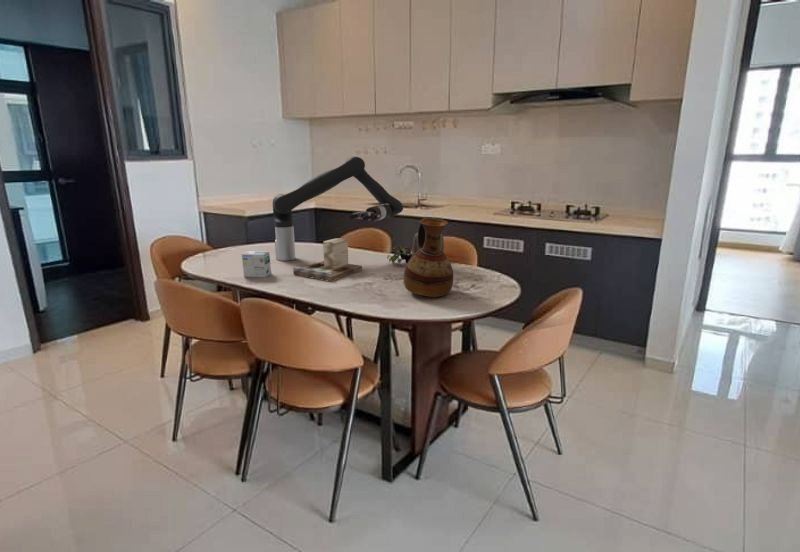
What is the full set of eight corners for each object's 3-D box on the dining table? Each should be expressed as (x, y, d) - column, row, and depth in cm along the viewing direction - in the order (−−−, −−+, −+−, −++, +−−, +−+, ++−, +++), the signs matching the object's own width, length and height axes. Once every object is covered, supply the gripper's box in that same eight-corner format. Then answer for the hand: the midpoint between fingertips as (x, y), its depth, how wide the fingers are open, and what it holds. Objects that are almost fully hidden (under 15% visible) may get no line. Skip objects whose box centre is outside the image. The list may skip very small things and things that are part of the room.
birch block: (324, 266, 219) (323, 241, 216) (337, 262, 228) (336, 237, 224) (335, 268, 216) (333, 242, 213) (348, 263, 224) (347, 239, 221)
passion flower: (406, 274, 234) (420, 256, 229) (395, 275, 225) (409, 256, 220) (392, 259, 238) (405, 241, 233) (380, 259, 229) (394, 240, 224)
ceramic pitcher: (416, 303, 173) (417, 223, 165) (395, 289, 191) (395, 216, 183) (462, 297, 181) (464, 220, 173) (437, 283, 199) (439, 213, 191)
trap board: (293, 274, 214) (293, 267, 213) (326, 263, 232) (326, 257, 231) (330, 281, 202) (330, 273, 201) (362, 269, 221) (361, 262, 220)
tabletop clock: (443, 268, 224) (444, 216, 217) (442, 273, 215) (444, 219, 208) (413, 267, 225) (413, 215, 219) (411, 272, 217) (411, 218, 210)
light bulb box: (271, 273, 215) (269, 250, 212) (266, 277, 209) (264, 254, 206) (249, 273, 216) (247, 250, 213) (243, 277, 210) (241, 253, 207)
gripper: (364, 205, 245) (344, 209, 232) (386, 206, 237) (367, 211, 225) (365, 219, 247) (345, 224, 234) (387, 221, 240) (368, 226, 227)
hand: (356, 218), depth 229 cm, fingers open, 8 cm apart
